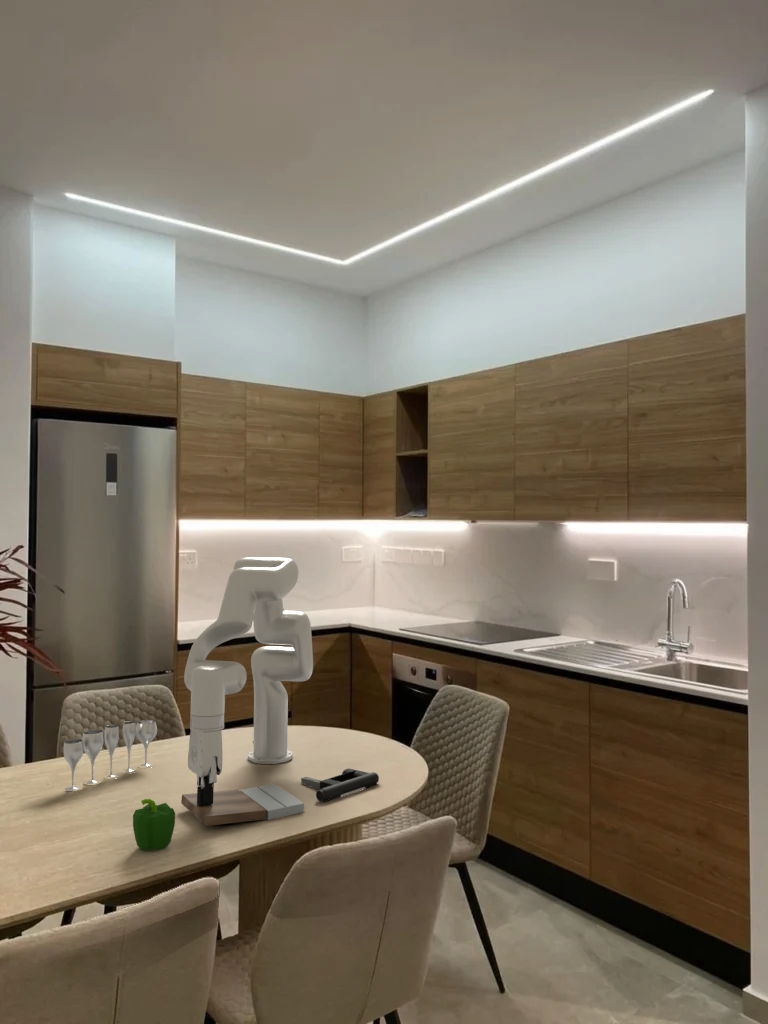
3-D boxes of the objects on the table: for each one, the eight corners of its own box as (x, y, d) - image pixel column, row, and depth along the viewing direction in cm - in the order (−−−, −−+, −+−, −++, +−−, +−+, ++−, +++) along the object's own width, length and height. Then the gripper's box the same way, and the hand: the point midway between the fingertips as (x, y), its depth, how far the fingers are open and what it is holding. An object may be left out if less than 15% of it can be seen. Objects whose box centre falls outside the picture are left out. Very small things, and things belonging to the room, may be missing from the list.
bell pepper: (177, 838, 164) (178, 790, 165) (171, 854, 156) (172, 804, 157) (136, 839, 163) (137, 791, 164) (128, 856, 155) (129, 805, 156)
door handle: (283, 780, 196) (326, 791, 185) (340, 763, 210) (384, 772, 199) (283, 793, 196) (326, 806, 185) (341, 775, 210) (384, 786, 199)
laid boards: (240, 798, 188) (240, 789, 188) (274, 791, 193) (274, 783, 193) (268, 819, 175) (268, 810, 175) (303, 811, 180) (303, 802, 180)
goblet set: (71, 794, 191) (72, 739, 191) (57, 789, 194) (58, 736, 194) (161, 765, 214) (161, 716, 214) (147, 761, 217) (147, 713, 217)
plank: (181, 803, 180) (182, 794, 181) (237, 797, 188) (238, 789, 188) (205, 825, 167) (206, 816, 167) (265, 819, 175) (266, 810, 175)
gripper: (180, 717, 180) (177, 798, 179) (202, 730, 167) (200, 817, 166) (211, 714, 184) (209, 793, 183) (235, 726, 171) (233, 811, 170)
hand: (204, 804), depth 174 cm, fingers closed
